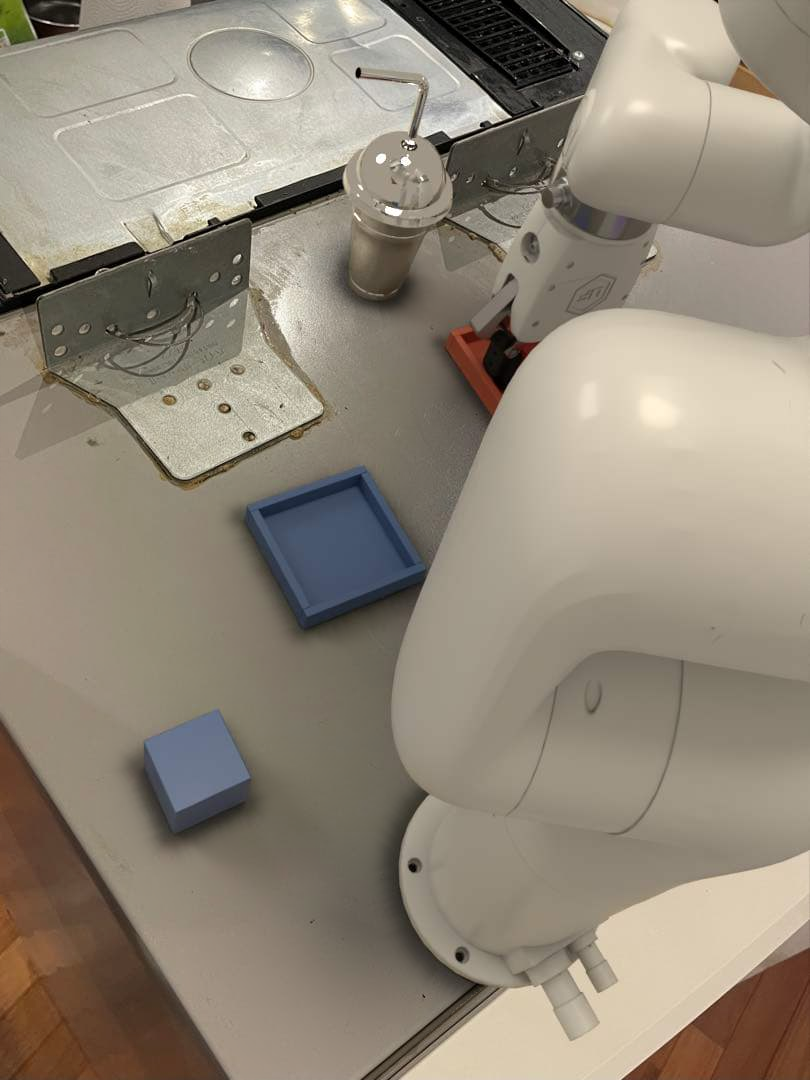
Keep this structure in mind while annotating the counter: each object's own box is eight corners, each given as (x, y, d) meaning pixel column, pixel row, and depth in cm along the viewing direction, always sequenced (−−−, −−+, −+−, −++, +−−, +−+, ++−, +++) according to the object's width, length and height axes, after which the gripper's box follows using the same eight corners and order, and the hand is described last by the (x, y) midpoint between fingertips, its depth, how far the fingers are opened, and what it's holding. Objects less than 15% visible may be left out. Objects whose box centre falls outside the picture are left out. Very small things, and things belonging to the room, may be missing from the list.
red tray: (593, 400, 81) (602, 386, 80) (502, 432, 78) (510, 417, 76) (534, 320, 85) (541, 304, 83) (444, 346, 81) (450, 330, 79)
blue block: (245, 800, 59) (252, 777, 55) (173, 835, 57) (175, 813, 53) (214, 735, 60) (218, 708, 57) (143, 766, 58) (142, 740, 55)
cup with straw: (420, 329, 81) (488, 119, 65) (311, 306, 80) (353, 86, 63) (426, 257, 86) (492, 43, 69) (323, 234, 84) (365, 11, 68)
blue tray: (421, 581, 69) (427, 568, 67) (303, 629, 65) (307, 617, 64) (359, 479, 72) (364, 464, 71) (244, 519, 68) (246, 504, 67)
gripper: (534, 256, 61) (458, 432, 76) (732, 204, 68) (625, 375, 83) (472, 174, 63) (410, 360, 79) (668, 132, 70) (576, 311, 86)
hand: (521, 366), depth 81 cm, fingers closed on red block, 4 cm apart
